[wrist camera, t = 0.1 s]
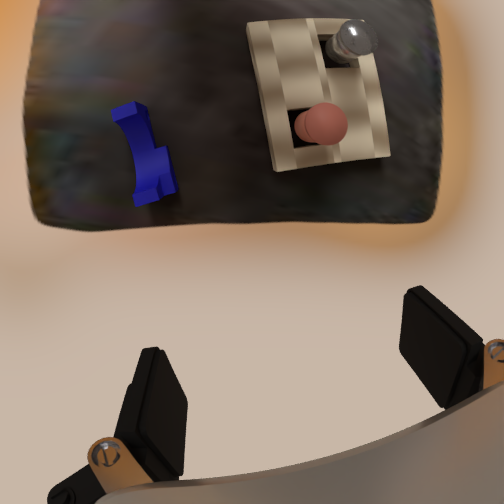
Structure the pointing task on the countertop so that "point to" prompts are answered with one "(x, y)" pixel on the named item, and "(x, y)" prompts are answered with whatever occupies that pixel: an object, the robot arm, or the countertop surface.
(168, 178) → the cable clip
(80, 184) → the countertop surface
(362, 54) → the grey plug
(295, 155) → the board
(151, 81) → the countertop surface
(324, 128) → the red plug
